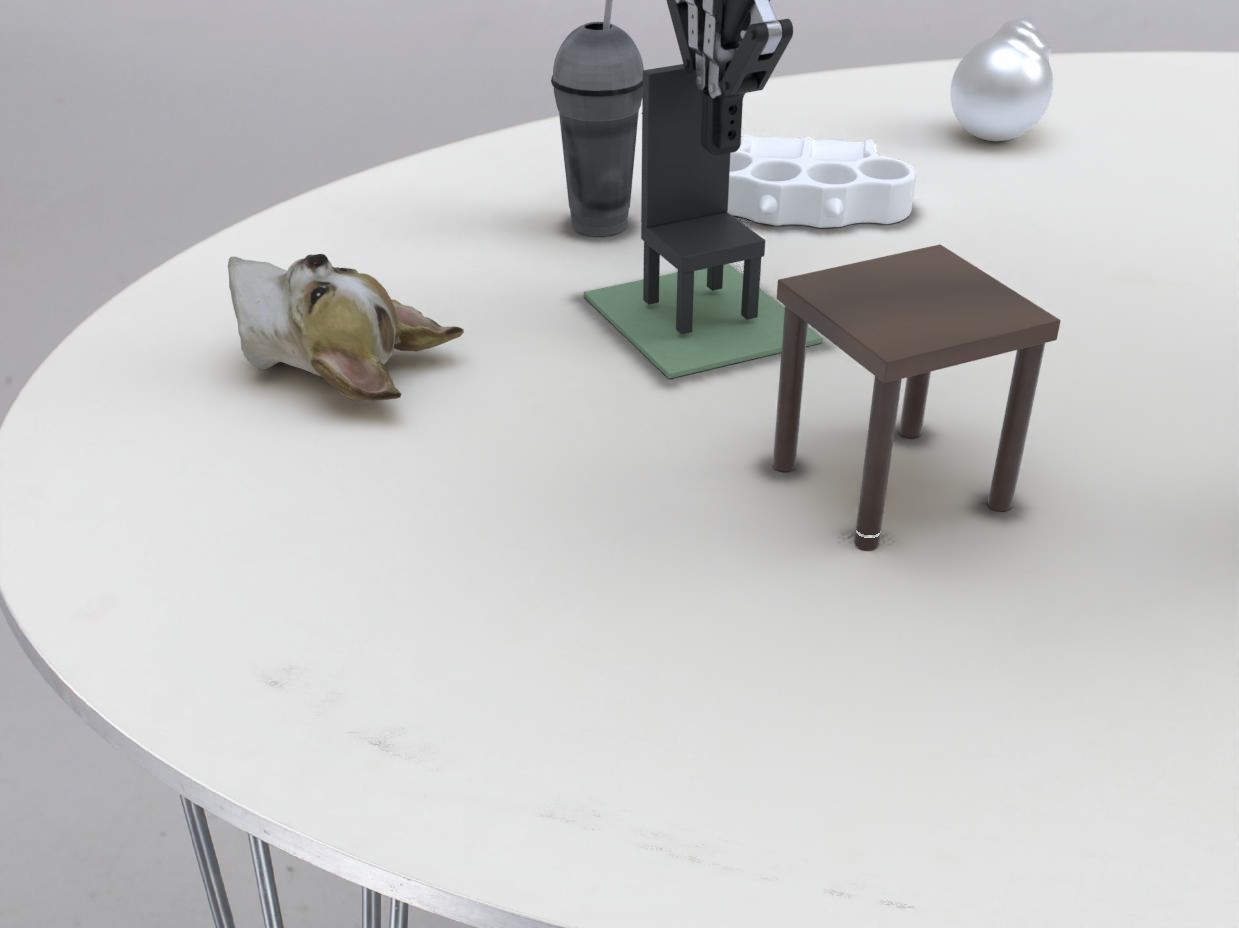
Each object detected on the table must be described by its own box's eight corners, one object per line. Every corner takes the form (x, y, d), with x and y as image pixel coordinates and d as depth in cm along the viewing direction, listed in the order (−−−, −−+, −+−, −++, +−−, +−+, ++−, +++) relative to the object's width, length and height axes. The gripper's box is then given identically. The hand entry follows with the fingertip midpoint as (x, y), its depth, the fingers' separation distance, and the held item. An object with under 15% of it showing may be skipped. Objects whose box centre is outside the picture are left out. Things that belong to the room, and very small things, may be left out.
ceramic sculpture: (268, 203, 99) (466, 247, 95) (281, 318, 104) (468, 364, 100) (179, 267, 91) (390, 317, 87) (198, 387, 97) (397, 439, 93)
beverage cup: (572, 203, 121) (567, -56, 108) (655, 213, 119) (660, -49, 106) (541, 237, 115) (532, -32, 103) (628, 248, 113) (629, -24, 101)
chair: (760, 318, 102) (776, 84, 92) (680, 336, 100) (687, 99, 90) (717, 283, 107) (728, 56, 96) (639, 299, 105) (642, 70, 94)
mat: (822, 342, 101) (822, 337, 100) (668, 379, 97) (669, 373, 97) (726, 266, 111) (726, 261, 110) (583, 296, 107) (583, 291, 107)
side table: (1021, 508, 84) (1061, 319, 77) (861, 555, 81) (886, 362, 73) (914, 422, 92) (940, 243, 84) (763, 462, 89) (777, 279, 81)
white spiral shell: (1067, 149, 129) (1091, 32, 123) (971, 160, 127) (989, 42, 121) (1018, 116, 136) (1038, 3, 129) (926, 126, 134) (941, 12, 127)
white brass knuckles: (910, 171, 125) (911, 240, 114) (703, 162, 128) (685, 228, 116) (915, 133, 123) (917, 198, 112) (705, 124, 125) (686, 187, 114)
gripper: (847, -133, 80) (822, 173, 91) (733, -171, 90) (722, 111, 101) (729, -119, 78) (717, 194, 89) (624, -159, 87) (625, 128, 98)
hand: (720, 149), depth 95 cm, fingers closed
